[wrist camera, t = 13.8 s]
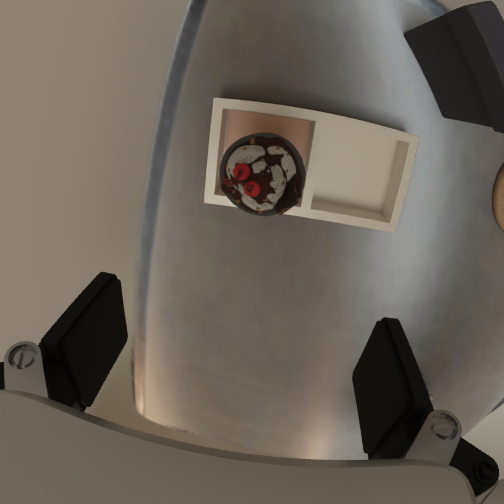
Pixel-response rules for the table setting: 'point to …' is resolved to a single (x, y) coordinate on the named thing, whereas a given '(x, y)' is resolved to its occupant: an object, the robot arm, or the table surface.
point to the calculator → (464, 63)
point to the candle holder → (499, 199)
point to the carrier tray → (323, 160)
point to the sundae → (262, 174)
